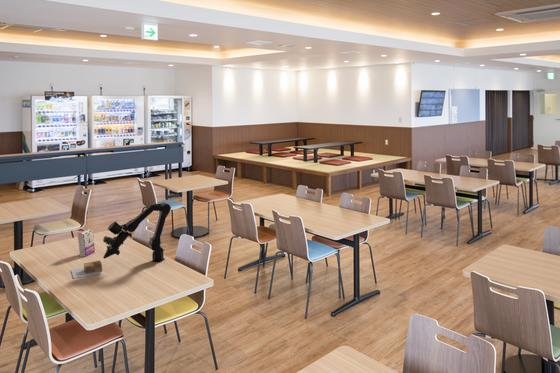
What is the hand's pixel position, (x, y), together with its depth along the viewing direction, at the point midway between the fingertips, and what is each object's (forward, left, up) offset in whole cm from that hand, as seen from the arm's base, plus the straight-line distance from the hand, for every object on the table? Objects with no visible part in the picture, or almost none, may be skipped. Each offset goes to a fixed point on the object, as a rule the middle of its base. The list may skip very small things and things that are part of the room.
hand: (103, 258), depth 306 cm
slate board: (+8, +8, -7) cm, 13 cm away
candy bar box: (+31, -22, -8) cm, 39 cm away
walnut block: (+1, +1, -5) cm, 5 cm away
